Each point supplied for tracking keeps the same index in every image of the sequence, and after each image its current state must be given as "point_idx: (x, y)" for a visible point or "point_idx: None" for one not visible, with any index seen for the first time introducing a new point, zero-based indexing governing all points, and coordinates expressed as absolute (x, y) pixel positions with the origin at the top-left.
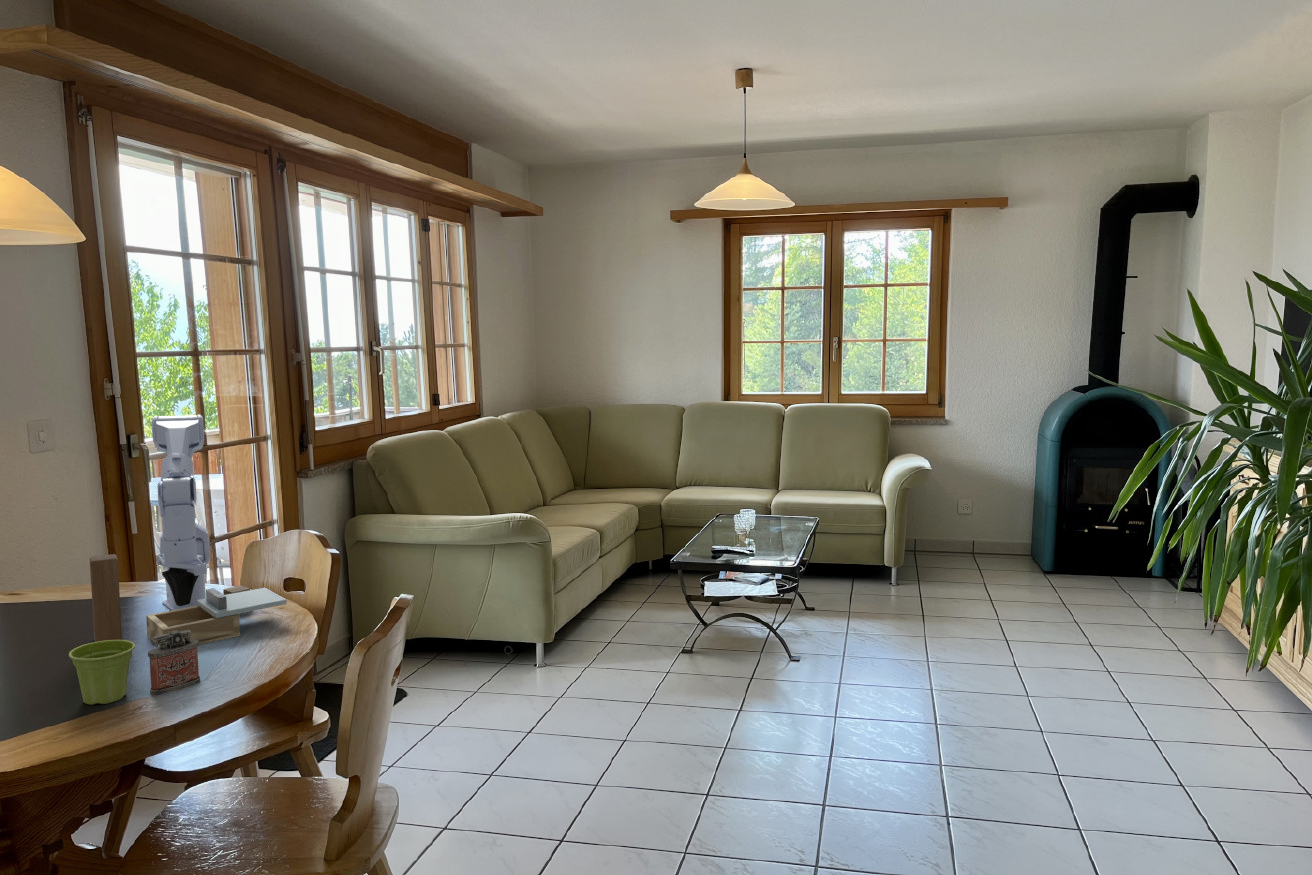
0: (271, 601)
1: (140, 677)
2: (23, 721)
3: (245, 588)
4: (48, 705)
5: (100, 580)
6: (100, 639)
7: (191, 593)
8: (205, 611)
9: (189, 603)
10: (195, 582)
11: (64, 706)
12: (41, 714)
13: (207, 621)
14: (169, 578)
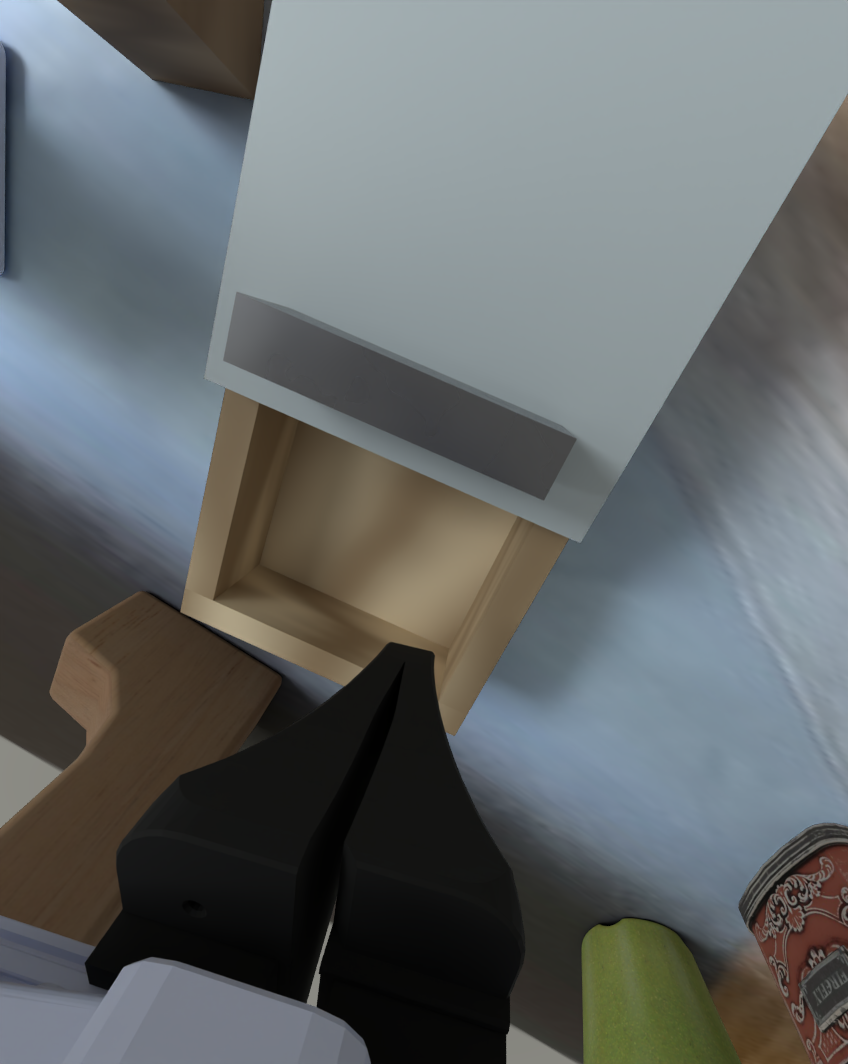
0: (837, 41)
1: (597, 838)
2: (564, 1040)
3: None
4: (531, 985)
5: None
6: (238, 749)
7: (436, 701)
8: None
9: (434, 657)
10: (456, 771)
11: (575, 987)
12: (566, 1017)
13: (550, 570)
14: (312, 973)
